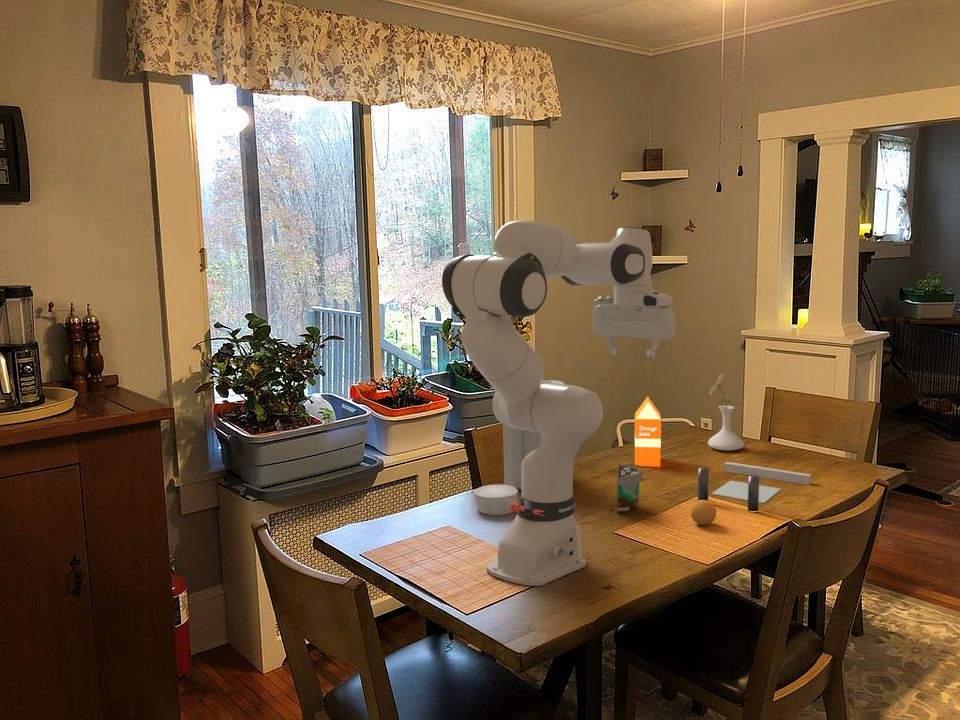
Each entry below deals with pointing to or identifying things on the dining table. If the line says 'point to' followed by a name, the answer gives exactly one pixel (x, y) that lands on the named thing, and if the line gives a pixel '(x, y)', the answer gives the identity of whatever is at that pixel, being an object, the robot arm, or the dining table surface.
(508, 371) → the robot arm
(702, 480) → the left post
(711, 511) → the ball
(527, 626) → the dining table surface
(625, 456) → the dining table surface
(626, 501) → the food container
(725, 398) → the flower in vase
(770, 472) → the wall
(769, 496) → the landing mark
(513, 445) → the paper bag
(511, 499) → the ramekin
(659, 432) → the orange juice
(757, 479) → the right post
